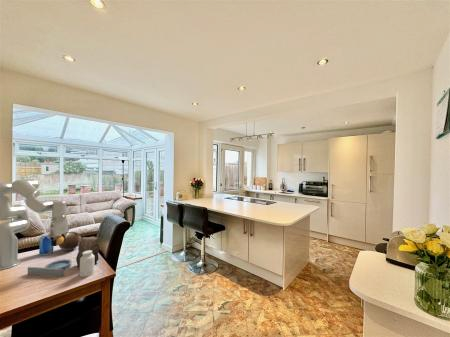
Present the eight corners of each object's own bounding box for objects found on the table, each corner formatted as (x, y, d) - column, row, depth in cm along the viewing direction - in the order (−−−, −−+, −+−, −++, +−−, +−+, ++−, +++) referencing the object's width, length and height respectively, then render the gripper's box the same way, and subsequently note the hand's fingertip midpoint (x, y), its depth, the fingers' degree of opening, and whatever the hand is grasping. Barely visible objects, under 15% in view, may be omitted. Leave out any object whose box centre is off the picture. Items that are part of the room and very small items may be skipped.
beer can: (44, 256, 148) (45, 236, 148) (36, 255, 150) (36, 235, 150) (56, 252, 156) (56, 233, 156) (48, 250, 158) (48, 232, 158)
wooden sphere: (53, 252, 155) (53, 234, 155) (70, 245, 169) (70, 229, 170) (69, 254, 153) (69, 236, 153) (85, 246, 168) (85, 230, 168)
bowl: (38, 272, 125) (38, 269, 125) (58, 262, 139) (58, 259, 140) (57, 274, 124) (57, 270, 124) (76, 263, 139) (76, 260, 139)
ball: (58, 246, 129) (58, 237, 129) (50, 246, 129) (50, 237, 129) (66, 243, 135) (66, 234, 135) (58, 242, 135) (58, 234, 135)
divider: (27, 274, 123) (27, 267, 123) (29, 273, 124) (29, 266, 124) (61, 276, 122) (61, 269, 122) (62, 275, 123) (62, 268, 123)
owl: (75, 265, 136) (76, 237, 136) (95, 259, 146) (96, 233, 146) (79, 271, 128) (80, 242, 128) (100, 264, 137) (101, 237, 137)
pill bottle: (77, 278, 120) (78, 255, 120) (81, 272, 127) (82, 250, 127) (92, 275, 123) (93, 253, 123) (95, 269, 130) (96, 248, 131)
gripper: (51, 222, 123) (51, 249, 123) (74, 215, 140) (74, 239, 140) (41, 221, 124) (40, 248, 123) (65, 215, 141) (64, 238, 141)
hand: (58, 243), depth 132 cm, fingers closed on ball, 5 cm apart
